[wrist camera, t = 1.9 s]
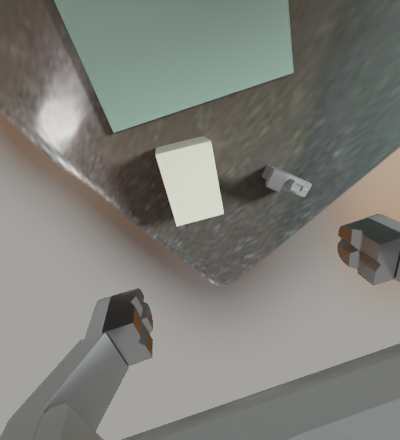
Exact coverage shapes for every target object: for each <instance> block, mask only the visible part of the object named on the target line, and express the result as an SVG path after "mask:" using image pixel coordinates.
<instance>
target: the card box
mask: <svg viewBox="0 0 400 440" xmlns="http://www.w3.org/2000/svg"><path fill="white" fill-rule="evenodd" d="M155 156H156V159H157V163H158V166H159V169H160V173H161V176H162V179H163V183H164V186H165V189H166V193H167V196H168V199H169V203H170V206H171V209H172V213H173V216H174V219H175V223H176V226H181V225H185V224H188V223H192V222H196V221H200V220H203V219H207V218H211V217H215V216H219V215H222V214H224V210H223V205H222V199H221V193H220V188H219V182H218V177H217V171H216V166H215V160H214V154H213V149H212V143H211V140H209V139H207V138H205V137H203V136H201V137H197V138H193V139H189V140H185V141H181V142H177V143H173V144H168V145H164V146H160V147H156V152H155Z"/></svg>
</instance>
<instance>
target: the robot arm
mask: <svg viewBox="0 0 400 440" xmlns="http://www.w3.org/2000/svg"><path fill="white" fill-rule="evenodd" d="M338 235H339V237H340V238H341V240H340V242H339V243H338V254H339V256H340V258H341V259H342V261H343V262H344V263H345V264H347V265H348V266H349V267H353V268H356V269H357V270H358V274H359V275H361V276H362V277H363V278H364V279H366V280H367V281H368V282H370V283H371V284H372V285H376V284H380V283H383V282H386V281H390V280H393V279H396V280H397V281H399V282H400V222H398V221H396V220H393V219H391V218H388V217H386V216H384V215H380V214H376V215H373V216H370V217H367V218H365V219H362V220H359V221H356V222H353V223H349V224H346V225H343V226H341V227H340V229H339V233H338ZM143 299H144V295H143V294H142V292H141V290H140V289H135V290H131V291H127V292H124V293H120V294H117V295H113V296H110V297H107V298H103V299H100V300H99V301H98V302H97V303H96V306H95V309H94V312H93V315H92V318H91V321H90V324H89V327H88V330H87V333H86V336H85V339H83V340H80V341H79V342H78V343H77V344H76V346H75V347H74V348H73V349H72V350H71V351H70V352H69V353H68V354H67V356H66V357H65V358H64V359H63V360H62V361H61V362H60V363H59V364H58V366H57V367H56V368H55V369H54V370H53V371H52V372H51V373H50V375H49V376H48V377H47V378H46V379H45V380H44V381H43V382H42V383H41V385H40V386H39V387H38V388H37V389H36V390H35V391H34V392H33V393H32V395H31V396H30V397H29V398H28V399H27V400H26V401H25V403H24V404H23V405H22V406H21V407H20V408H19V409H18V410H17V411H16V413H15V414H14V415H13V416H12V417H11V418H10V419H9V421H8V423H7V425H6V427H5V429H4V431H3V433H2V435H1V437H0V440H103V439H102V438H101V437H100V436H99V435H98V434H97V433H96V432H95V431H96V429H97V427H98V425H99V424H100V422H101V420H102V418H103V416H104V414H105V412H106V410H107V408H108V406H109V404H110V402H111V400H112V399H113V397H114V395H115V393H116V391H117V389H118V387H119V385H120V383H121V381H122V379H123V377H124V376H125V374H126V372H127V370H128V366H130V365H133V364H136V363H139V362H141V361H144V360H147V359H150V358H152V344H153V343H152V342H153V340H152V338H151V336H150V333H151V331H152V330H153V320H152V314H151V311H150V308H149V306H148V304H147V303H145V302H143ZM122 440H400V344H397V345H394V346H391V347H388V348H385V349H383V350H380V351H377V352H374V353H371V354H368V355H365V356H362V357H359V358H357V359H354V360H351V361H348V362H345V363H342V364H339V365H336V366H333V367H330V368H328V369H325V370H322V371H319V372H316V373H313V374H310V375H307V376H304V377H301V378H299V379H296V380H293V381H290V382H287V383H284V384H281V385H278V386H275V387H273V388H270V389H267V390H264V391H261V392H258V393H255V394H252V395H249V396H247V397H244V398H241V399H238V400H235V401H232V402H230V403H227V404H224V405H221V406H218V407H215V408H212V409H209V410H206V411H203V412H201V413H197V414H195V415H192V416H189V417H186V418H183V419H180V420H177V421H174V422H171V423H168V424H166V425H163V426H160V427H157V428H154V429H151V430H148V431H146V432H142V433H139V434H137V435H134V436H131V437H128V438H125V439H122Z"/></svg>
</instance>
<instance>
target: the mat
mask: <svg viewBox="0 0 400 440" xmlns="http://www.w3.org/2000/svg"><path fill="white" fill-rule="evenodd" d="M54 2H55V4H56V6H57V8H58V11H59V13H60V15H61V17H62V19H63V22H64V24H65V26H66V28H67V30H68V33H69V35H70V37H71V39H72V42H73V44H74V46H75V48H76V50H77V53H78V55H79V57H80V59H81V62H82V64H83V66H84V68H85V70H86V73H87V75H88V77H89V79H90V81H91V84H92V86H93V88H94V90H95V93H96V95H97V97H98V99H99V101H100V104H101V106H102V108H103V110H104V113H105V115H106V117H107V119H108V121H109V124H110V126H111V128H112V130H113V132H114V133H115V132H118V131H121V130H124V129H127V128H130V127H133V126H136V125H139V124H142V123H145V122H148V121H151V120H154V119H157V118H160V117H163V116H166V115H169V114H172V113H175V112H178V111H181V110H184V109H187V108H190V107H193V106H196V105H199V104H202V103H205V102H208V101H211V100H214V99H217V98H220V97H223V96H226V95H229V94H232V93H235V92H238V91H241V90H244V89H247V88H250V87H253V86H256V85H259V84H262V83H265V82H268V81H271V80H274V79H277V78H280V77H283V76H286V75H289V74H292V73H294V71H293V58H292V44H291V31H290V18H289V4H288V0H54Z"/></svg>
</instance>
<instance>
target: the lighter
mask: <svg viewBox="0 0 400 440" xmlns="http://www.w3.org/2000/svg"><path fill="white" fill-rule="evenodd" d="M262 178H264V179H265V180H266V182H265V183H266V187H268V188H270V189H272V190H275V191H277V192H279V191H280V190H281V189H283V190H286V191H289V192H291V193H294V194H297V195H299V196H302V197H305V196H306V194H307V193H308V191H309V189H310V188H311V186H312V184H311V183H309V182H307V181H305V180H303V179H301V178H298V177H296V176H294V175H292V174H290V173H287V172H285V171H282V170H280V169H277V168H275V167H273V166H270V165H267V166H266V168H265V170H264V172H263V174H262Z"/></svg>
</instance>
